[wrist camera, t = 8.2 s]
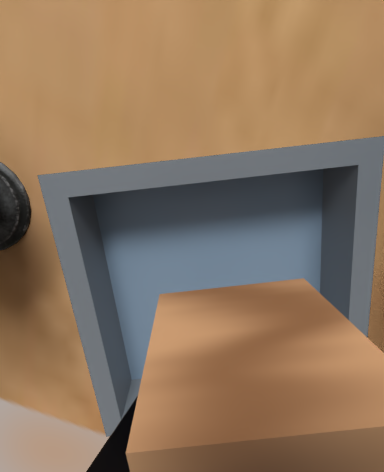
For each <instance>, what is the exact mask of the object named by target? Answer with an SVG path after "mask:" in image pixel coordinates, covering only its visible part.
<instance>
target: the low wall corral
mask: <svg viewBox="0 0 384 472" xmlns="http://www.w3.org/2000/svg"><path fill="white" fill-rule="evenodd" d="M383 155H384V136H382V137H373V138H364V139H355V140H346V141H337V142H329V143H320V144H311V145H302V146H293V147H284V148H275V149H267V150H258V151H249V152H240V153H231V154H222V155H214V156H205V157H196V158H187V159H178V160H169V161H160V162H152V163H143V164H134V165H125V166H116V167H107V168H98V169H90V170H81V171H72V172H63V173H54V174H45V175H38V179H39V183H40V186H41V190H42V194H43V198H44V202H45V205H46V209H47V213H48V217H49V221H50V224H51V228H52V232H53V236H54V240H55V243H56V247H57V251H58V255H59V259H60V262H61V266H62V270H63V274H64V278H65V281H66V285H67V289H68V293H69V297H70V300H71V304H72V308H73V312H74V315H75V319H76V323H77V327H78V331H79V334H80V338H81V342H82V346H83V350H84V353H85V357H86V361H87V365H88V369H89V372H90V376H91V380H92V384H93V388H94V391H95V395H96V399H97V403H98V407H99V410H100V414H101V418H102V422H103V426H104V429H105V433H106V437H107V436H111V434H112V433H113V431H114V430H115V428H116V427H117V425H118V424H119V422H120V421H121V419H122V418H123V416H124V415H125V414H126V412H127V411H128V409H129V408H130V406H131V405H132V403H133V402H134V400H135V399H136V397H137V396H138V393H139V388H140V384H141V379H142V374H143V370H144V365H145V360H146V356H147V351H148V346H149V341H150V337H151V332H152V327H153V323H154V318H155V313H156V309H157V304H158V299H159V295H160V294H165V293H174V292H184V291H193V290H202V289H211V288H220V287H229V286H238V285H247V284H256V283H266V282H275V281H284V280H293V279H302V278H304V279H305V280H306V281H307V282H308V283H309V284H310V285H312V286H313V287H314V288H315V289H316V290H317V291H318V292H319V293H320V294H321V295H322V296H323V297H324V298H325V299H327V300H328V301H329V302H330V303H331V304H332V305H333V306H334V307H335V308H336V309H337V310H338V311H339V312H340V313H341V314H343V315H344V316H345V317H346V318H347V319H348V320H349V321H350V322H351V323H352V324H353V325H354V326H355V327H356V328H357V329H359V330H360V331H361V332H362V333H363V334H364V335H365V336H366V337H368V326H369V314H370V303H371V292H372V280H373V269H374V258H375V246H376V235H377V223H378V212H379V201H380V189H381V178H382V166H383Z"/></svg>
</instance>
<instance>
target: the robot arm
mask: <svg viewBox="0 0 384 472" xmlns="http://www.w3.org/2000/svg"><path fill="white" fill-rule="evenodd" d="M137 398H138V396H137V397H136V399H135V400H134V402H133V403H132V405H131V406H130V408H129V409H128V411H127V412H126V414H125V415H124V416H123V418H122V419H121V421H120V422H119V424H118V425H117V427H116V428H115V430H114V431H113V433H112V434H111V436H110V437H109V439H108V440H107V442H106V443H105V445H104V446H103V448H102V449H101V451H100V452H99V454H98V455H97V457H96V458H95V460H94V461H93V463H92V464H91V466H90V467H89V468H88V470H87V471H86V472H130V469H129V465H128V461H127V457H126V449H127V445H128V440H129V435H130V431H131V426H132V421H133V417H134V412H135V407H136V402H137Z"/></svg>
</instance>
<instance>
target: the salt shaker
mask: <svg viewBox="0 0 384 472" xmlns="http://www.w3.org/2000/svg"><path fill="white" fill-rule="evenodd" d="M30 214H31V209H30V203H29V198H28V195H27V193H26V191H25V188H24V186H23V184H22V183H21V182H20V180H19V179H18V177H17V176H16V175H15V174H14V173H13V172H12V171H11V170H10V169H9V168H8V167H7V166H5V165H4V164H3V163H1V162H0V250H4V249H7V248H9V247H10V246H12V245H14V244H15V243H17V242H18V241H19V240H20V239H21V238H22V236H23V235H24V234H25V232H26V230H27V228H28V225H29V222H30Z"/></svg>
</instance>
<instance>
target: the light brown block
mask: <svg viewBox="0 0 384 472" xmlns="http://www.w3.org/2000/svg"><path fill="white" fill-rule="evenodd" d="M126 457H127V461H128V465H129V469H130V472H384V353H383V352H382V351H381V350H380V349H379V348H378V347H377V346H376V345H375V344H374V343H372V342H371V341H370V340H369V339H368V338H367V337H366V336H365V335H364V334H363V333H362V332H361V331H360V330H359V329H357V328H356V327H355V326H354V325H353V324H352V323H351V322H350V321H349V320H348V319H347V318H346V317H345V316H344V315H343V314H341V313H340V312H339V311H338V310H337V309H336V308H335V307H334V306H333V305H332V304H331V303H330V302H329V301H328V300H327V299H325V298H324V297H323V296H322V295H321V294H320V293H319V292H318V291H317V290H316V289H315V288H314V287H313V286H312V285H310V284H309V283H308V282H307V281H306V280H305V279H304V278H302V279H293V280H284V281H275V282H266V283H256V284H247V285H238V286H229V287H220V288H211V289H202V290H193V291H184V292H174V293H165V294H160V295H159V299H158V304H157V309H156V313H155V318H154V323H153V327H152V332H151V337H150V341H149V346H148V351H147V356H146V360H145V365H144V370H143V374H142V379H141V384H140V388H139V393H138V398H137V402H136V407H135V412H134V417H133V421H132V426H131V431H130V435H129V440H128V445H127V449H126Z"/></svg>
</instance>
